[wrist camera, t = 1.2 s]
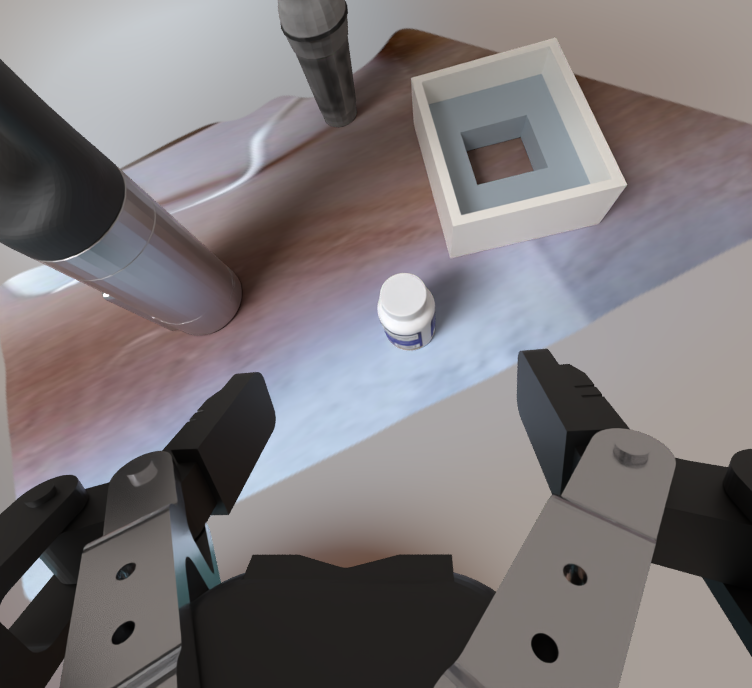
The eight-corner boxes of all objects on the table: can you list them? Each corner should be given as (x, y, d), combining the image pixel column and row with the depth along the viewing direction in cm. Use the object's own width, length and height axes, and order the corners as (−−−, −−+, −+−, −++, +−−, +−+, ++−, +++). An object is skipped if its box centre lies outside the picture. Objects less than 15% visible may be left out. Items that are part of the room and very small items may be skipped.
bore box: (450, 258, 40) (453, 226, 34) (413, 123, 46) (410, 78, 41) (598, 224, 39) (627, 184, 33) (540, 89, 45) (555, 37, 39)
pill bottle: (408, 296, 40) (401, 253, 31) (445, 325, 38) (449, 289, 30) (375, 330, 39) (359, 297, 31) (411, 362, 38) (405, 335, 29)
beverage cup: (369, 91, 49) (329, -137, 30) (364, 133, 47) (318, -81, 28) (317, 95, 50) (248, -121, 31) (311, 137, 48) (232, -67, 29)
